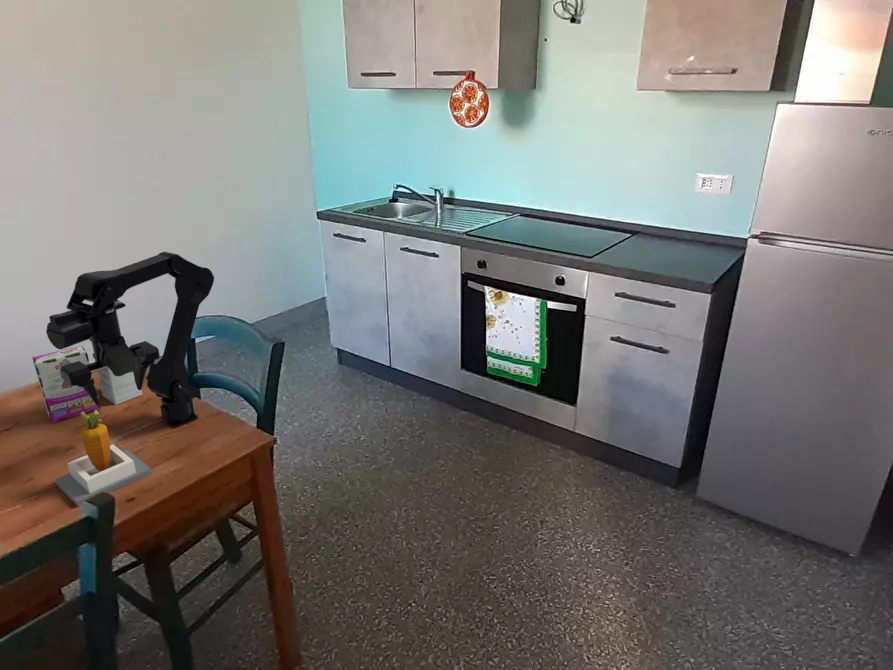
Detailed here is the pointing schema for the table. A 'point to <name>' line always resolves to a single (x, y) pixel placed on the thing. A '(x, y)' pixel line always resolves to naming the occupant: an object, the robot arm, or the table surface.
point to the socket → (101, 475)
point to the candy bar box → (63, 385)
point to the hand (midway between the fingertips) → (118, 397)
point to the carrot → (96, 442)
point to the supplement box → (118, 386)
